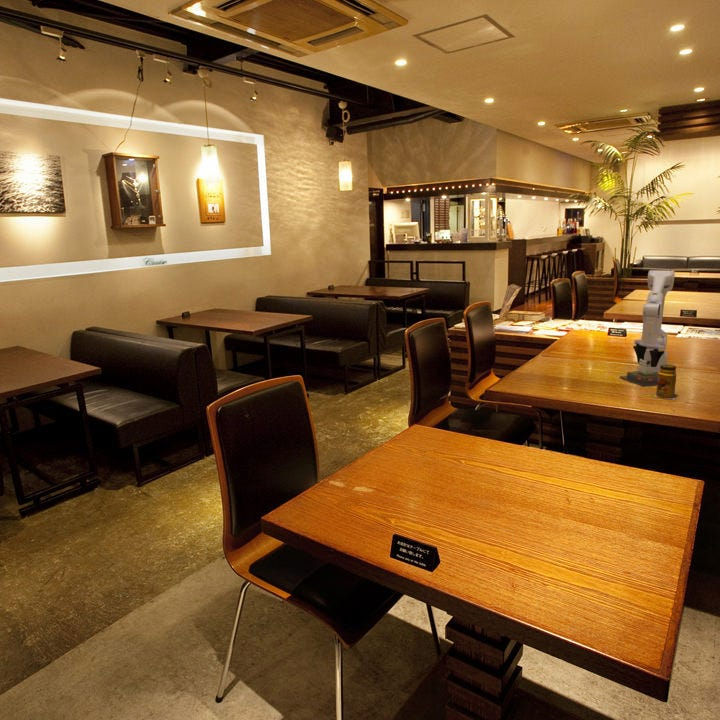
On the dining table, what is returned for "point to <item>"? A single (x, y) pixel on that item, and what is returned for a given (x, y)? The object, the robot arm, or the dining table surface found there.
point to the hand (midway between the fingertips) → (646, 364)
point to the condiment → (666, 382)
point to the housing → (641, 379)
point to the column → (645, 367)
